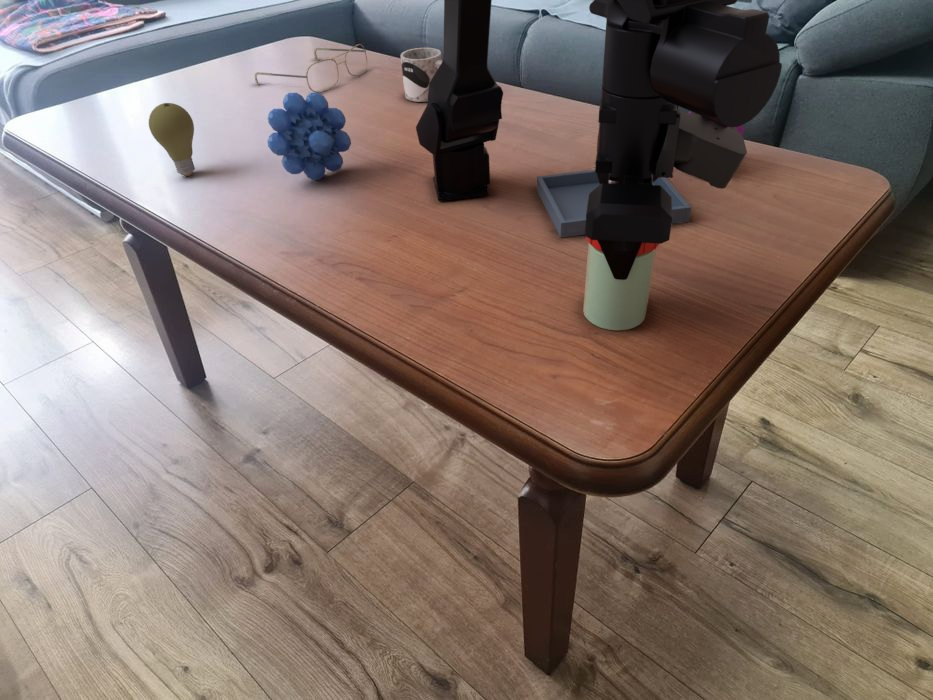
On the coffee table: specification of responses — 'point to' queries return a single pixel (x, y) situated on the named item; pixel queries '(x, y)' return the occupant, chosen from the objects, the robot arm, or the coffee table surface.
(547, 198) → the tray
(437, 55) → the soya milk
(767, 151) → the coffee table surface
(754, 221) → the coffee table surface
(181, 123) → the light bulb
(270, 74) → the eyeglasses
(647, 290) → the jar
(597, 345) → the coffee table surface
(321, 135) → the blue beaded flower
